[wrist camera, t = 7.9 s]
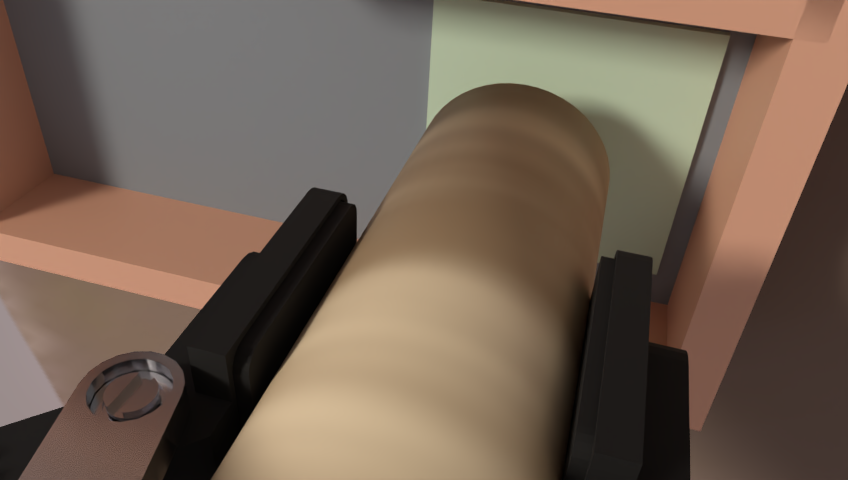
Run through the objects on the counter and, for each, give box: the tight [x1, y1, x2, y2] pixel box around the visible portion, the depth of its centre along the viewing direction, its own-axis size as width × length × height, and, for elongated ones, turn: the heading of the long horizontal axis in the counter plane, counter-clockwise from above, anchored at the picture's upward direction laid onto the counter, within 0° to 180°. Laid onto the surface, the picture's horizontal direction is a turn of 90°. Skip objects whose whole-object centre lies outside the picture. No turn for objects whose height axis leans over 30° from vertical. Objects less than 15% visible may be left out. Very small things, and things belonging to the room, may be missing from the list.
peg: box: [211, 83, 610, 480], centre depth 11 cm, size 4×4×12 cm
